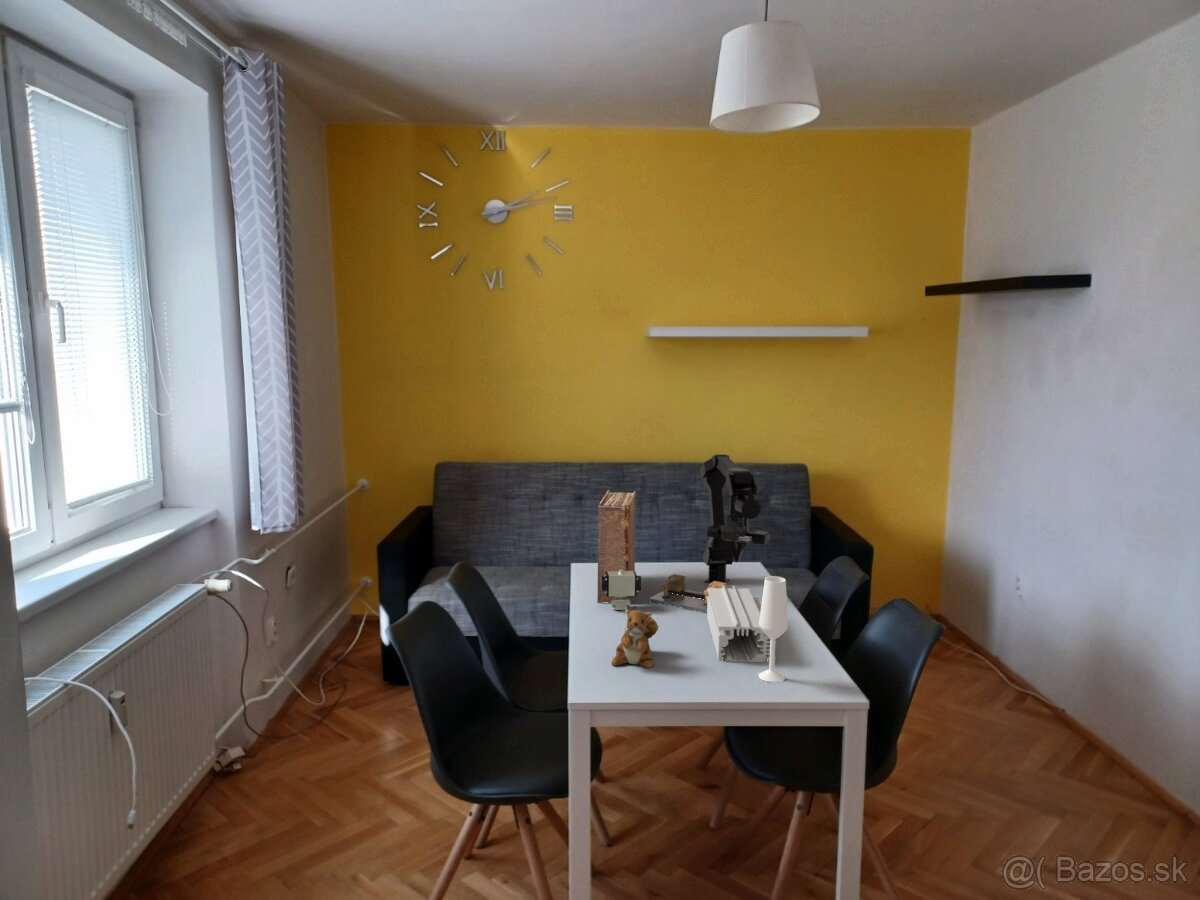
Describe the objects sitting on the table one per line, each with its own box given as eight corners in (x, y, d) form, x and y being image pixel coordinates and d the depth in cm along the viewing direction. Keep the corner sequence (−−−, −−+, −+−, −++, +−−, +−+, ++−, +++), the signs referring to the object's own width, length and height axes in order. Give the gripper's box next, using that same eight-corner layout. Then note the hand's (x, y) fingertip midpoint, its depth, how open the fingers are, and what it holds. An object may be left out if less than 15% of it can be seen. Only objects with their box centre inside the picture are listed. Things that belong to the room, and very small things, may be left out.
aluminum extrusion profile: (756, 620, 227) (758, 586, 225) (775, 663, 196) (777, 624, 195) (706, 618, 227) (707, 585, 226) (718, 661, 197) (719, 623, 195)
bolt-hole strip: (661, 594, 247) (661, 591, 247) (733, 608, 235) (733, 604, 235) (649, 601, 240) (649, 598, 240) (723, 616, 228) (723, 612, 228)
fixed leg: (673, 586, 251) (673, 573, 250) (684, 588, 249) (685, 575, 248) (658, 595, 242) (658, 582, 241) (670, 597, 240) (670, 584, 239)
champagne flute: (753, 671, 190) (757, 575, 187) (781, 671, 191) (785, 574, 187) (761, 683, 184) (765, 583, 180) (789, 683, 184) (794, 583, 181)
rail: (669, 590, 251) (669, 583, 251) (754, 606, 237) (754, 598, 237) (665, 593, 249) (665, 585, 248) (750, 609, 234) (750, 601, 234)
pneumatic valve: (641, 611, 232) (641, 571, 230) (601, 612, 231) (601, 572, 229) (638, 604, 237) (639, 566, 236) (599, 605, 236) (600, 566, 235)
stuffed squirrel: (609, 667, 192) (610, 615, 190) (623, 646, 206) (624, 597, 204) (650, 672, 190) (651, 619, 188) (661, 650, 203) (662, 600, 201)
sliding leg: (713, 593, 244) (714, 581, 243) (725, 596, 242) (726, 583, 241) (699, 603, 235) (699, 590, 234) (712, 605, 233) (712, 592, 232)
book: (607, 578, 264) (608, 489, 260) (634, 579, 263) (636, 490, 258) (597, 603, 239) (598, 505, 235) (627, 604, 238) (629, 506, 234)
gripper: (699, 512, 237) (698, 563, 239) (759, 520, 228) (757, 573, 230) (714, 506, 247) (712, 554, 249) (772, 513, 237) (770, 563, 239)
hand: (737, 561), depth 241 cm, fingers closed
